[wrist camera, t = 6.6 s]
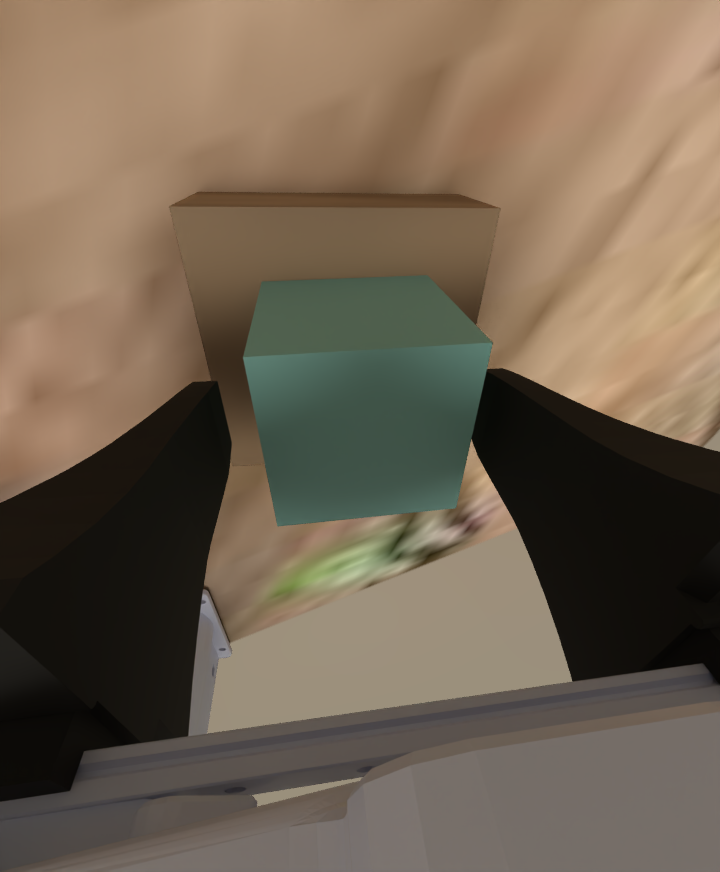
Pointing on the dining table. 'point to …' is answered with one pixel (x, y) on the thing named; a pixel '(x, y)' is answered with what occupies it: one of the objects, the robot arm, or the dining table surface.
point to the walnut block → (315, 264)
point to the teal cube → (363, 395)
